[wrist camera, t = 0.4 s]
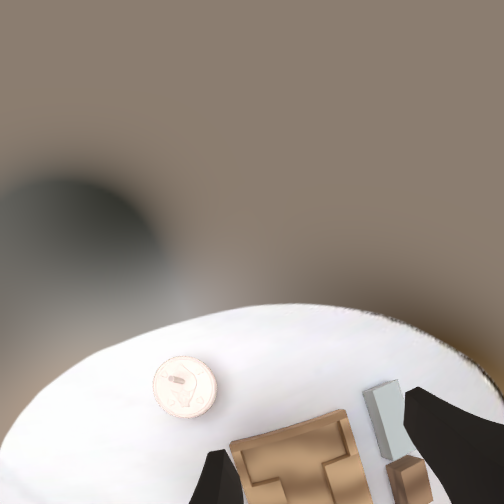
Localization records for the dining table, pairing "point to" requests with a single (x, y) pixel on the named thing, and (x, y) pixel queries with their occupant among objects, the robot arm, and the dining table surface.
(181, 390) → the smoothie
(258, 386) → the dining table surface
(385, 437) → the grey square post
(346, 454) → the jig
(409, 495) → the brown wooden block
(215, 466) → the robot arm
